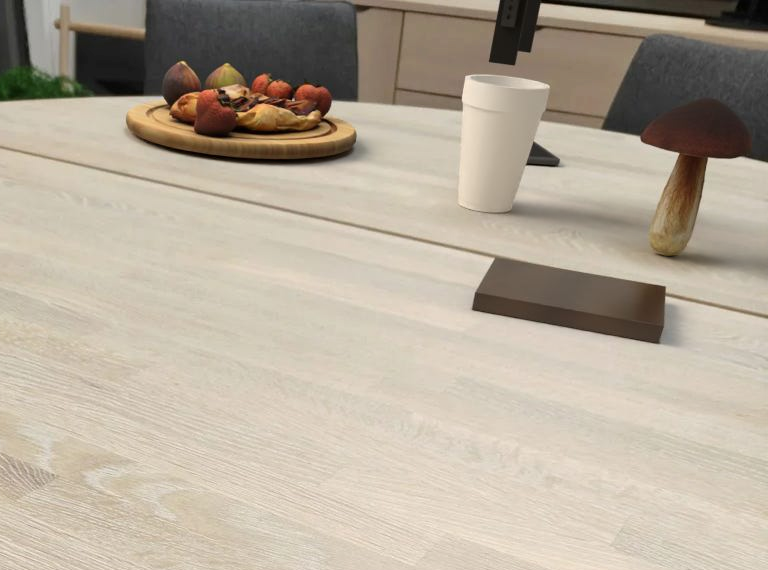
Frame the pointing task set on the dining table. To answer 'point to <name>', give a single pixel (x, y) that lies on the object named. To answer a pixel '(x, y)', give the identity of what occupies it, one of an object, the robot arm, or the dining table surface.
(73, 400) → the dining table surface
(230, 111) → the wooden plate
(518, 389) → the dining table surface
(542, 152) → the cell phone
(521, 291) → the walnut board
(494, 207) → the foam cup
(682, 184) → the decorative mushroom
